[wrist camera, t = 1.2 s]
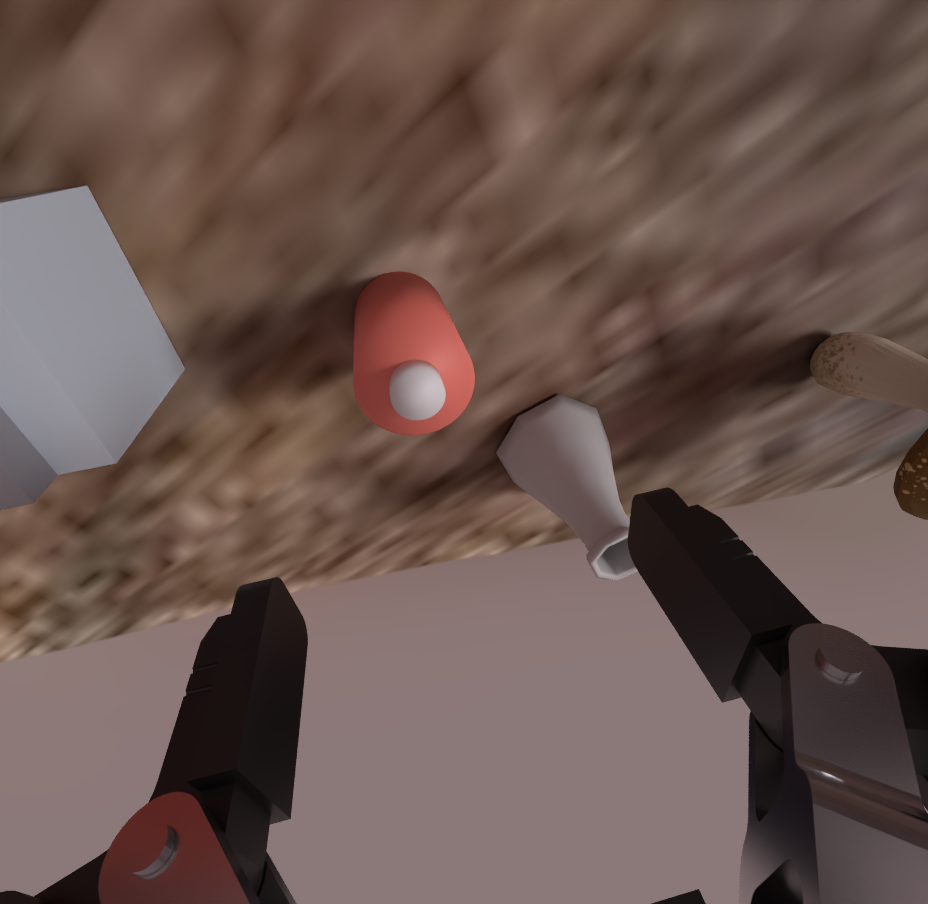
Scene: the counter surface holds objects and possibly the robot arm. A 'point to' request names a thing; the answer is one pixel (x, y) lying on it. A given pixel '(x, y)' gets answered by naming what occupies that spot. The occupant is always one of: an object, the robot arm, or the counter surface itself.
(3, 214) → the grey box device
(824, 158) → the counter surface
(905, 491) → the mushroom
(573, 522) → the flask
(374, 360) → the pink cylinder white tip
